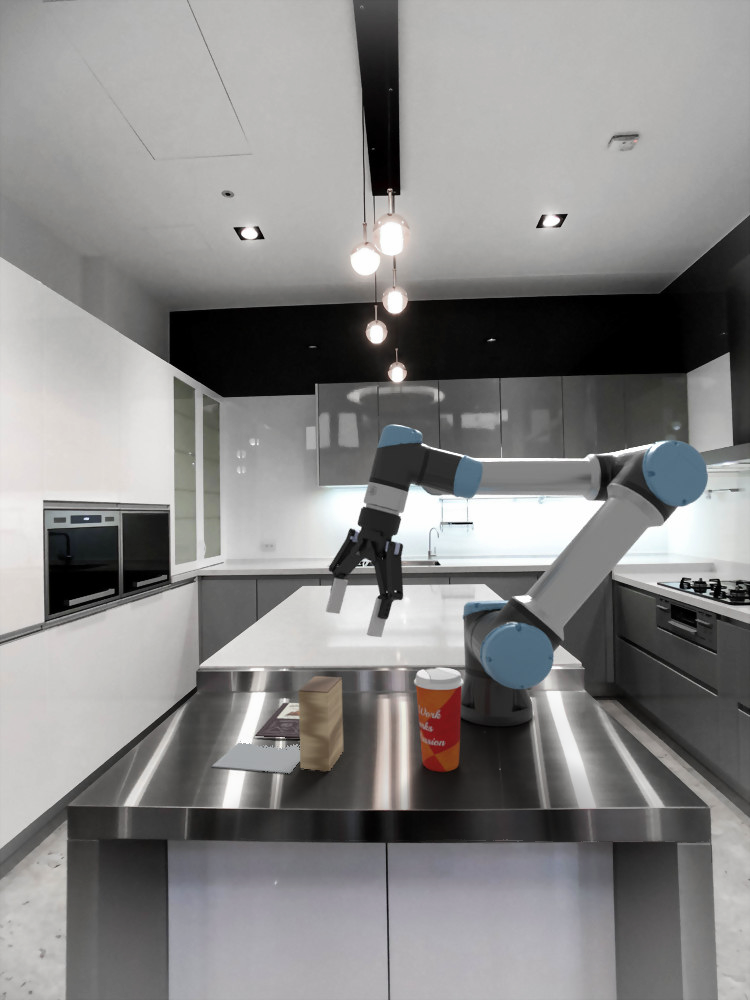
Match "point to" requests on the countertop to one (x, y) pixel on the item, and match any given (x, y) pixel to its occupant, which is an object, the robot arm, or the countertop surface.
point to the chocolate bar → (283, 722)
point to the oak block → (321, 723)
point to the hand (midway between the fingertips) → (352, 623)
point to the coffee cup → (439, 717)
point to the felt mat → (260, 758)
